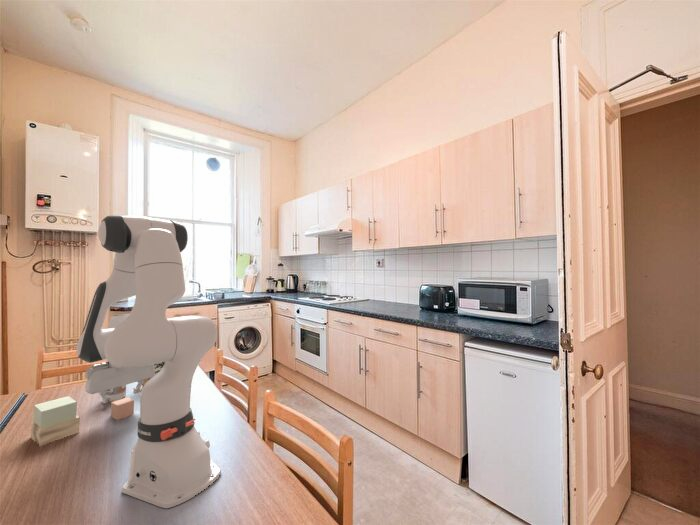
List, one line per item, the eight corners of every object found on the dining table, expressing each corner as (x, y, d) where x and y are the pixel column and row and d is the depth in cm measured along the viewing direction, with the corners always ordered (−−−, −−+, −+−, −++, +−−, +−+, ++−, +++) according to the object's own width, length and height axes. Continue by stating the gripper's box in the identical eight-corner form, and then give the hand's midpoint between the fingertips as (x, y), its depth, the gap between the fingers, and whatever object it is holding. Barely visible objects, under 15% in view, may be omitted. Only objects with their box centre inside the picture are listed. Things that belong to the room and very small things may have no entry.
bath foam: (120, 401, 119) (121, 350, 120) (100, 402, 118) (101, 351, 118) (129, 394, 126) (130, 345, 126) (110, 395, 124) (111, 346, 125)
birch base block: (79, 433, 96) (79, 417, 96) (39, 447, 89) (40, 429, 89) (69, 425, 101) (69, 410, 101) (30, 438, 93) (31, 421, 93)
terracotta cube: (133, 414, 108) (133, 400, 109) (117, 420, 104) (117, 405, 104) (127, 410, 111) (127, 397, 111) (110, 416, 107) (111, 402, 107)
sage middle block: (76, 417, 96) (76, 401, 96) (41, 428, 89) (41, 411, 89) (67, 411, 100) (68, 396, 100) (33, 421, 94) (34, 405, 94)
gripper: (90, 368, 98) (89, 411, 98) (157, 353, 115) (156, 389, 115) (82, 364, 101) (81, 406, 101) (148, 350, 118) (148, 386, 118)
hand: (121, 397), depth 108 cm, fingers open, 8 cm apart
